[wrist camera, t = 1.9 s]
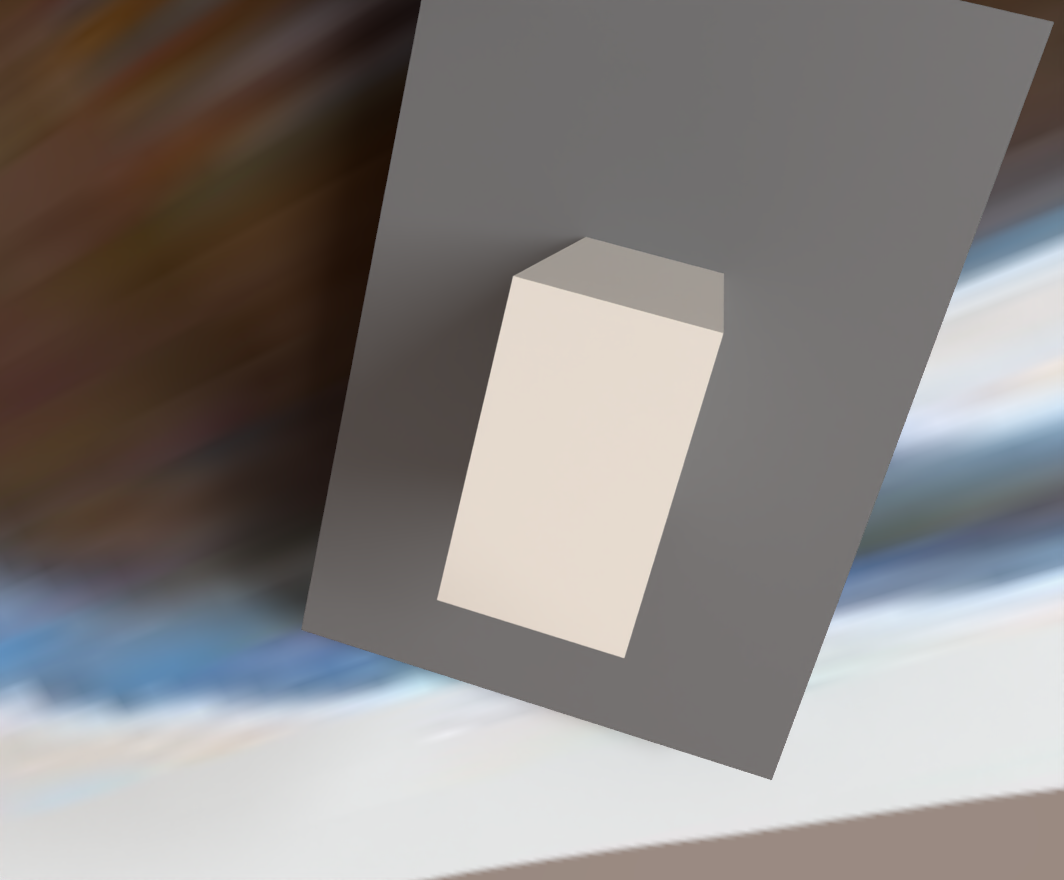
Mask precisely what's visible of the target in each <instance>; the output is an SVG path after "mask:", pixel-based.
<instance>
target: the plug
mask: <svg viewBox="0 0 1064 880" xmlns="http://www.w3.org/2000/svg"><path fill="white" fill-rule="evenodd" d="M723 331H724V273H720V272H716V271H712V270H708V269H705V268H701V267H697V266H693V265H690V264H686V263H682V262H678V261H675V260H671V259H667V258H663V257H660V256H656V255H652V254H648V253H645V252H641V251H637V250H633V249H630V248H626V247H622V246H618V245H614V244H611V243H607V242H603V241H599V240H596V239H592V238H588V237H585V238H583V239H581V240H579V241H577V242H575V243H574V244H572V245H570V246H568V247H566V248H564V249H562V250H561V251H559V252H557V253H555V254H553V255H551V256H549V257H548V258H546V259H544V260H542V261H540V262H538V263H536V264H535V265H533V266H531V267H529V268H527V269H525V270H523V271H522V272H520V273H518V274H516V275H514V276H513V279H512V283H511V287H510V292H509V296H508V300H507V304H506V309H505V313H504V317H503V321H502V326H501V330H500V334H499V338H498V343H497V347H496V351H495V355H494V360H493V364H492V368H491V372H490V377H489V381H488V385H487V389H486V394H485V398H484V402H483V407H482V411H481V415H480V419H479V424H478V428H477V432H476V436H475V441H474V445H473V449H472V453H471V458H470V462H469V466H468V470H467V475H466V479H465V483H464V487H463V492H462V496H461V500H460V504H459V509H458V513H457V517H456V521H455V526H454V530H453V534H452V538H451V543H450V547H449V551H448V555H447V560H446V564H445V568H444V572H443V577H442V581H441V585H440V589H439V594H438V598H437V600H439V601H442V602H445V603H448V604H452V605H455V606H458V607H461V608H464V609H468V610H471V611H474V612H477V613H481V614H484V615H487V616H490V617H493V618H497V619H500V620H503V621H506V622H509V623H513V624H516V625H519V626H522V627H526V628H529V629H532V630H535V631H538V632H542V633H545V634H548V635H551V636H554V637H558V638H561V639H564V640H567V641H570V642H574V643H577V644H580V645H583V646H587V647H590V648H593V649H596V650H599V651H603V652H606V653H609V654H612V655H615V656H619V657H622V658H624V657H625V654H626V651H627V648H628V644H629V641H630V638H631V635H632V631H633V628H634V625H635V621H636V618H637V615H638V612H639V608H640V605H641V602H642V599H643V595H644V592H645V589H646V585H647V582H648V579H649V576H650V572H651V569H652V566H653V563H654V559H655V556H656V553H657V549H658V546H659V543H660V540H661V536H662V533H663V530H664V526H665V523H666V520H667V517H668V513H669V510H670V507H671V504H672V500H673V497H674V494H675V490H676V487H677V484H678V481H679V477H680V474H681V471H682V468H683V464H684V461H685V458H686V454H687V451H688V448H689V445H690V441H691V438H692V435H693V432H694V428H695V425H696V422H697V418H698V415H699V412H700V409H701V405H702V402H703V399H704V395H705V392H706V389H707V386H708V382H709V379H710V376H711V373H712V369H713V366H714V363H715V359H716V356H717V353H718V350H719V346H720V343H721V340H722V337H723Z"/></svg>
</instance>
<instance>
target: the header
mask: <svg viewBox="0 0 1064 880" xmlns="http://www.w3.org/2000/svg"><path fill="white" fill-rule="evenodd" d="M1053 24H1054V22H1051V21H1047V20H1043V19H1038V18H1034V17H1030V16H1025V15H1021V14H1017V13H1012V12H1008V11H1004V10H999V9H995V8H991V7H986V6H982V5H978V4H973V3H969V2H965V1H960V0H421V5H420V11H419V16H418V21H417V26H416V32H415V37H414V42H413V47H412V53H411V58H410V63H409V68H408V73H407V79H406V84H405V89H404V94H403V100H402V105H401V110H400V115H399V121H398V126H397V131H396V136H395V142H394V147H393V152H392V157H391V163H390V168H389V173H388V178H387V184H386V189H385V194H384V199H383V205H382V210H381V215H380V220H379V226H378V231H377V236H376V241H375V247H374V252H373V257H372V262H371V267H370V273H369V278H368V283H367V288H366V294H365V299H364V304H363V309H362V315H361V320H360V325H359V330H358V336H357V341H356V346H355V351H354V357H353V362H352V367H351V372H350V378H349V383H348V388H347V393H346V399H345V404H344V409H343V414H342V420H341V425H340V430H339V435H338V441H337V446H336V451H335V456H334V461H333V467H332V472H331V477H330V482H329V488H328V493H327V498H326V503H325V509H324V514H323V519H322V524H321V530H320V535H319V540H318V545H317V551H316V556H315V561H314V566H313V572H312V577H311V582H310V587H309V593H308V598H307V603H306V608H305V614H304V619H303V624H302V629H301V630H304V631H307V632H310V633H313V634H316V635H319V636H322V637H326V638H329V639H332V640H335V641H338V642H341V643H344V644H347V645H351V646H354V647H357V648H360V649H363V650H366V651H369V652H373V653H376V654H379V655H382V656H385V657H388V658H391V659H394V660H398V661H401V662H404V663H407V664H410V665H413V666H416V667H419V668H423V669H426V670H429V671H432V672H435V673H438V674H441V675H445V676H448V677H451V678H454V679H457V680H460V681H463V682H466V683H470V684H473V685H476V686H479V687H482V688H485V689H488V690H491V691H495V692H498V693H501V694H504V695H507V696H510V697H513V698H517V699H520V700H523V701H526V702H529V703H532V704H535V705H538V706H542V707H545V708H548V709H551V710H554V711H557V712H560V713H563V714H567V715H570V716H573V717H576V718H579V719H582V720H585V721H589V722H592V723H595V724H598V725H601V726H604V727H607V728H610V729H614V730H617V731H620V732H623V733H626V734H629V735H632V736H635V737H639V738H642V739H645V740H648V741H651V742H654V743H657V744H661V745H664V746H667V747H670V748H673V749H676V750H679V751H682V752H686V753H689V754H692V755H695V756H698V757H701V758H704V759H707V760H711V761H714V762H717V763H720V764H723V765H726V766H729V767H732V768H736V769H739V770H742V771H745V772H748V773H751V774H754V775H758V776H761V777H764V778H767V779H770V780H772V778H773V775H774V772H775V770H776V767H777V764H778V762H779V759H780V756H781V754H782V751H783V748H784V746H785V743H786V740H787V738H788V735H789V732H790V729H791V727H792V724H793V721H794V719H795V716H796V713H797V711H798V708H799V705H800V703H801V700H802V697H803V695H804V692H805V689H806V687H807V684H808V681H809V678H810V676H811V673H812V670H813V668H814V665H815V662H816V660H817V657H818V654H819V652H820V649H821V646H822V644H823V641H824V638H825V636H826V633H827V630H828V627H829V625H830V622H831V619H832V617H833V614H834V611H835V609H836V606H837V603H838V601H839V598H840V595H841V593H842V590H843V587H844V585H845V582H846V579H847V576H848V574H849V571H850V568H851V566H852V563H853V560H854V558H855V555H856V552H857V550H858V547H859V544H860V542H861V539H862V536H863V534H864V531H865V528H866V525H867V523H868V520H869V517H870V515H871V512H872V509H873V507H874V504H875V501H876V499H877V496H878V493H879V491H880V488H881V485H882V483H883V480H884V477H885V475H886V472H887V469H888V466H889V464H890V461H891V458H892V456H893V453H894V450H895V448H896V445H897V442H898V440H899V437H900V434H901V432H902V429H903V426H904V424H905V421H906V418H907V415H908V413H909V410H910V407H911V405H912V402H913V399H914V397H915V394H916V391H917V389H918V386H919V383H920V381H921V378H922V375H923V373H924V370H925V367H926V364H927V362H928V359H929V356H930V354H931V351H932V348H933V346H934V343H935V340H936V338H937V335H938V332H939V330H940V327H941V324H942V322H943V319H944V316H945V313H946V311H947V308H948V305H949V303H950V300H951V297H952V295H953V292H954V289H955V287H956V284H957V281H958V279H959V276H960V273H961V271H962V268H963V265H964V263H965V260H966V257H967V254H968V252H969V249H970V246H971V244H972V241H973V238H974V236H975V233H976V230H977V228H978V225H979V222H980V220H981V217H982V214H983V212H984V209H985V206H986V203H987V201H988V198H989V195H990V193H991V190H992V187H993V185H994V182H995V179H996V177H997V174H998V171H999V169H1000V166H1001V163H1002V161H1003V158H1004V155H1005V152H1006V150H1007V147H1008V144H1009V142H1010V139H1011V136H1012V134H1013V131H1014V128H1015V126H1016V123H1017V120H1018V118H1019V115H1020V112H1021V110H1022V107H1023V104H1024V101H1025V99H1026V96H1027V93H1028V91H1029V88H1030V85H1031V83H1032V80H1033V77H1034V75H1035V72H1036V69H1037V67H1038V64H1039V61H1040V59H1041V56H1042V53H1043V51H1044V48H1045V45H1046V42H1047V40H1048V37H1049V34H1050V32H1051V29H1052V26H1053ZM585 237H588V238H592V239H596V240H599V241H603V242H607V243H611V244H614V245H618V246H622V247H626V248H630V249H633V250H637V251H641V252H645V253H648V254H652V255H656V256H660V257H663V258H667V259H671V260H675V261H678V262H682V263H686V264H690V265H693V266H697V267H701V268H705V269H708V270H712V271H716V272H720V273H724V331H723V337H722V340H721V343H720V346H719V350H718V353H717V356H716V359H715V363H714V366H713V369H712V373H711V376H710V379H709V382H708V386H707V389H706V392H705V395H704V399H703V402H702V405H701V409H700V412H699V415H698V418H697V422H696V425H695V428H694V432H693V435H692V438H691V441H690V445H689V448H688V451H687V454H686V458H685V461H684V464H683V468H682V471H681V474H680V477H679V481H678V484H677V487H676V490H675V494H674V497H673V500H672V504H671V507H670V510H669V513H668V517H667V520H666V523H665V526H664V530H663V533H662V536H661V540H660V543H659V546H658V549H657V553H656V556H655V559H654V563H653V566H652V569H651V572H650V576H649V579H648V582H647V585H646V589H645V592H644V595H643V599H642V602H641V605H640V608H639V612H638V615H637V618H636V621H635V625H634V628H633V631H632V635H631V638H630V641H629V644H628V648H627V651H626V654H625V657H624V658H622V657H619V656H615V655H612V654H609V653H606V652H603V651H599V650H596V649H593V648H590V647H587V646H583V645H580V644H577V643H574V642H570V641H567V640H564V639H561V638H558V637H554V636H551V635H548V634H545V633H542V632H538V631H535V630H532V629H529V628H526V627H522V626H519V625H516V624H513V623H509V622H506V621H503V620H500V619H497V618H493V617H490V616H487V615H484V614H481V613H477V612H474V611H471V610H468V609H464V608H461V607H458V606H455V605H452V604H448V603H445V602H442V601H439V600H437V598H438V594H439V589H440V585H441V581H442V577H443V572H444V568H445V564H446V560H447V555H448V551H449V547H450V543H451V538H452V534H453V530H454V526H455V521H456V517H457V513H458V509H459V504H460V500H461V496H462V492H463V487H464V483H465V479H466V475H467V470H468V466H469V462H470V458H471V453H472V449H473V445H474V441H475V436H476V432H477V428H478V424H479V419H480V415H481V411H482V407H483V402H484V398H485V394H486V389H487V385H488V381H489V377H490V372H491V368H492V364H493V360H494V355H495V351H496V347H497V343H498V338H499V334H500V330H501V326H502V321H503V317H504V313H505V309H506V304H507V300H508V296H509V292H510V287H511V283H512V279H513V276H514V275H516V274H518V273H520V272H522V271H523V270H525V269H527V268H529V267H531V266H533V265H535V264H536V263H538V262H540V261H542V260H544V259H546V258H548V257H549V256H551V255H553V254H555V253H557V252H559V251H561V250H562V249H564V248H566V247H568V246H570V245H572V244H574V243H575V242H577V241H579V240H581V239H583V238H585Z"/></svg>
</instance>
